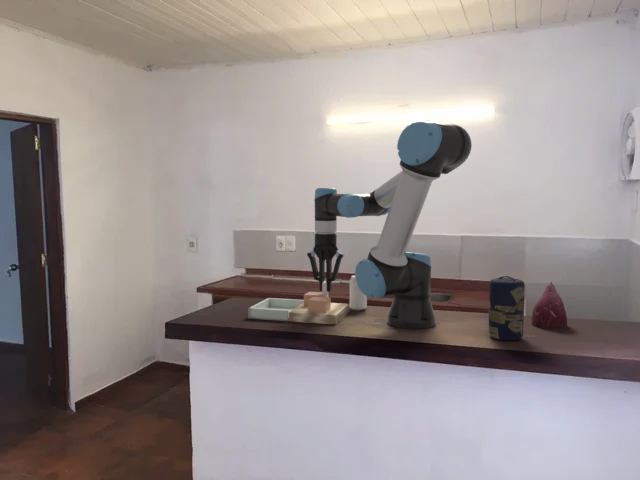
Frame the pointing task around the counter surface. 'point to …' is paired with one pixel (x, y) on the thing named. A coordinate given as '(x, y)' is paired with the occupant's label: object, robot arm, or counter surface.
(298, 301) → the tray
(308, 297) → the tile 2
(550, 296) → the vegetable
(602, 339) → the counter surface
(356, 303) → the beverage can
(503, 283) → the canister
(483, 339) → the counter surface
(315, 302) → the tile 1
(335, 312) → the board
